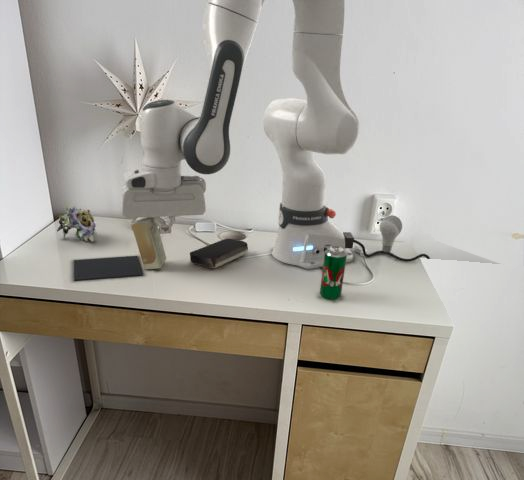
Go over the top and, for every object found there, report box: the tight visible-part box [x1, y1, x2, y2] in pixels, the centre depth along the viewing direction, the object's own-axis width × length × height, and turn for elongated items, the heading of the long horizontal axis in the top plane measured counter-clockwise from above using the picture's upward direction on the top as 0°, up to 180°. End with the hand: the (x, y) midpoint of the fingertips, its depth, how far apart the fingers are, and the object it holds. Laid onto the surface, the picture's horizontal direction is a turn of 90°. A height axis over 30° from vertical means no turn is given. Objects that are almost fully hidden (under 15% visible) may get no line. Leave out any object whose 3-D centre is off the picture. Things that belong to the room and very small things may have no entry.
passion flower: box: [56, 204, 98, 243], centre depth 144 cm, size 11×11×12 cm
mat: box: [73, 255, 143, 282], centre depth 130 cm, size 16×12×1 cm
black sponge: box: [189, 238, 249, 269], centre depth 138 cm, size 16×8×4 cm, turn 143°
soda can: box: [319, 246, 347, 301], centre depth 120 cm, size 5×5×12 cm
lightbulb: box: [379, 214, 403, 253], centre depth 145 cm, size 6×6×11 cm
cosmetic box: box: [130, 217, 168, 270], centre depth 130 cm, size 6×4×12 cm
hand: (165, 232), depth 129 cm, fingers closed
